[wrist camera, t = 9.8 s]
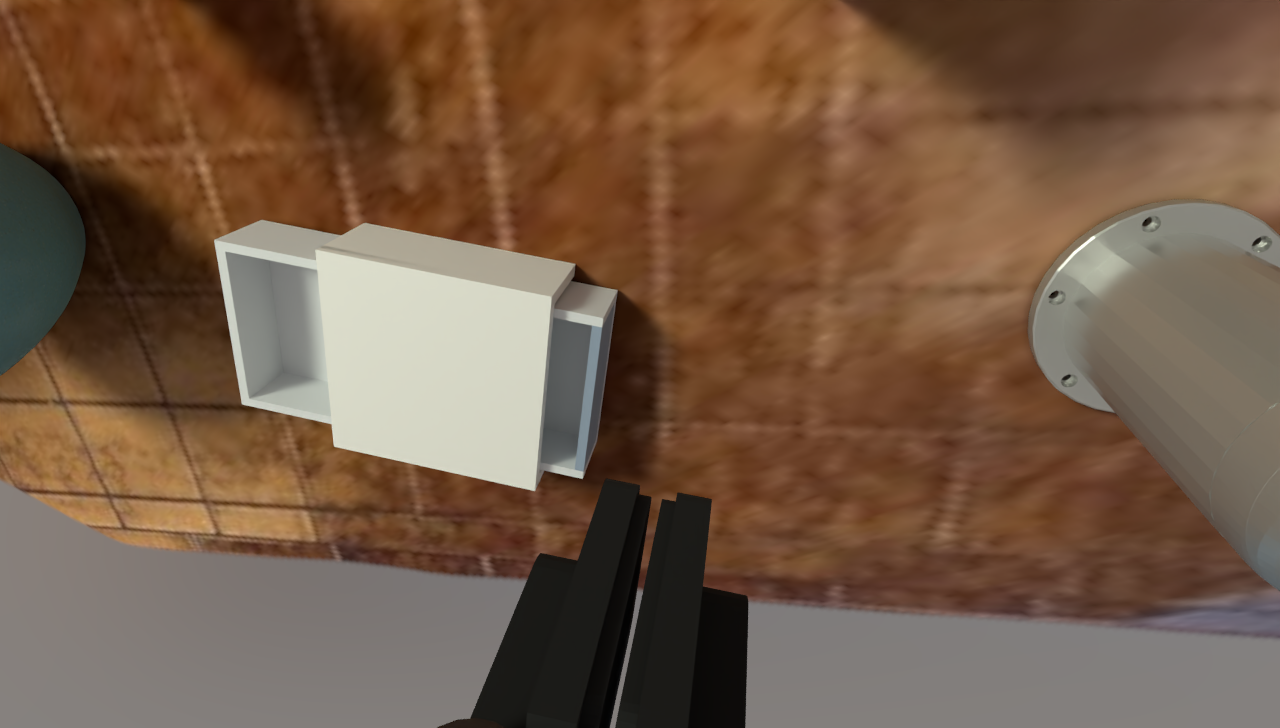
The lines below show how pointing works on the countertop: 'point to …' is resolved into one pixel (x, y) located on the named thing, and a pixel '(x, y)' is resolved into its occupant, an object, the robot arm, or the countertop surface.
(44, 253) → the teal bowl
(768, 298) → the countertop surface
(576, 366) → the white sliding drawer box
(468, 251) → the sleeve
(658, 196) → the countertop surface
